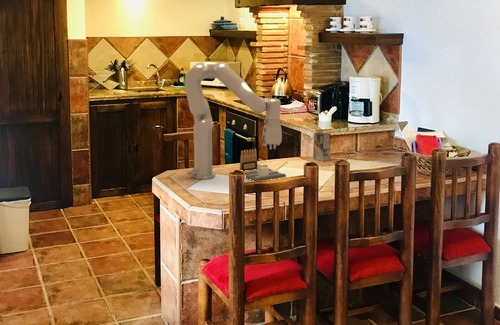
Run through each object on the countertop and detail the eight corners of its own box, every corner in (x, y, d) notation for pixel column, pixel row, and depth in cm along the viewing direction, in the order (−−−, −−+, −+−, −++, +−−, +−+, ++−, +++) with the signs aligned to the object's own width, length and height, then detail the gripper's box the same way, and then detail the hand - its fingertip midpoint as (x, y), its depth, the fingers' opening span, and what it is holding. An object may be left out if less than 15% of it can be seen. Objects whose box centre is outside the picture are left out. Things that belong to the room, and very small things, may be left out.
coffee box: (330, 160, 395) (331, 133, 391) (322, 161, 391) (323, 135, 388) (320, 157, 402) (320, 131, 399) (312, 158, 398) (313, 132, 395)
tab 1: (261, 173, 354) (261, 165, 353) (257, 172, 358) (257, 164, 357) (267, 172, 356) (267, 164, 355) (263, 171, 360) (263, 163, 359)
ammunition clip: (241, 171, 365) (241, 150, 362) (239, 170, 366) (239, 149, 364) (257, 169, 370) (257, 148, 368) (255, 168, 372) (255, 147, 369)
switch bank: (254, 181, 342) (254, 178, 342) (240, 176, 354) (240, 173, 353) (285, 176, 353) (285, 173, 353) (270, 171, 364) (270, 168, 364)
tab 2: (262, 177, 346) (262, 168, 345) (258, 175, 350) (258, 167, 349) (268, 176, 349) (268, 168, 348) (264, 174, 352) (264, 166, 351)
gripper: (264, 124, 339) (263, 158, 343) (288, 122, 347) (286, 156, 351) (256, 121, 345) (255, 156, 349) (279, 120, 353) (278, 153, 357)
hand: (270, 156), depth 350 cm, fingers closed
